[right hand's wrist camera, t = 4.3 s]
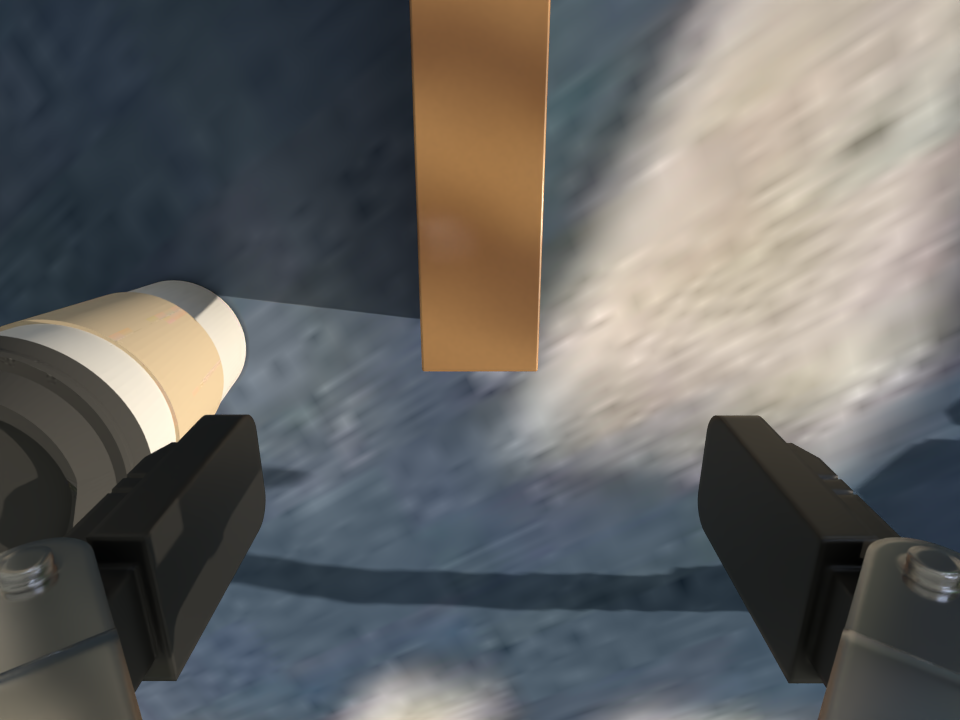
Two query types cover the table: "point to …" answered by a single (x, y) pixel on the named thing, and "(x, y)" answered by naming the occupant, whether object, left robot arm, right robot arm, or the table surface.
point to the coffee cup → (104, 396)
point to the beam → (479, 179)
